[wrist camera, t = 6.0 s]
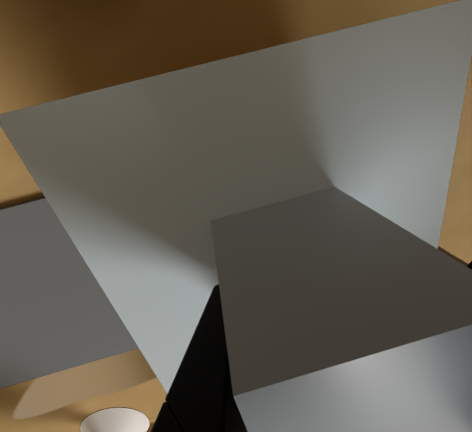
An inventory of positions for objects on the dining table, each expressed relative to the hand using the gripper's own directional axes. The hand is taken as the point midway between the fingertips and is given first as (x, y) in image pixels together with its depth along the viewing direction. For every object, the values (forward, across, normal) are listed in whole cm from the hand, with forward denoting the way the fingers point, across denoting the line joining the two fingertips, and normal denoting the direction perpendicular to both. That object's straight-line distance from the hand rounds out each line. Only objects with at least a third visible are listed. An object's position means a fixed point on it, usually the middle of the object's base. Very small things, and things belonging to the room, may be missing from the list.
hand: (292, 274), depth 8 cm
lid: (+2, 0, 0) cm, 2 cm away
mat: (+10, +18, +5) cm, 21 cm away
